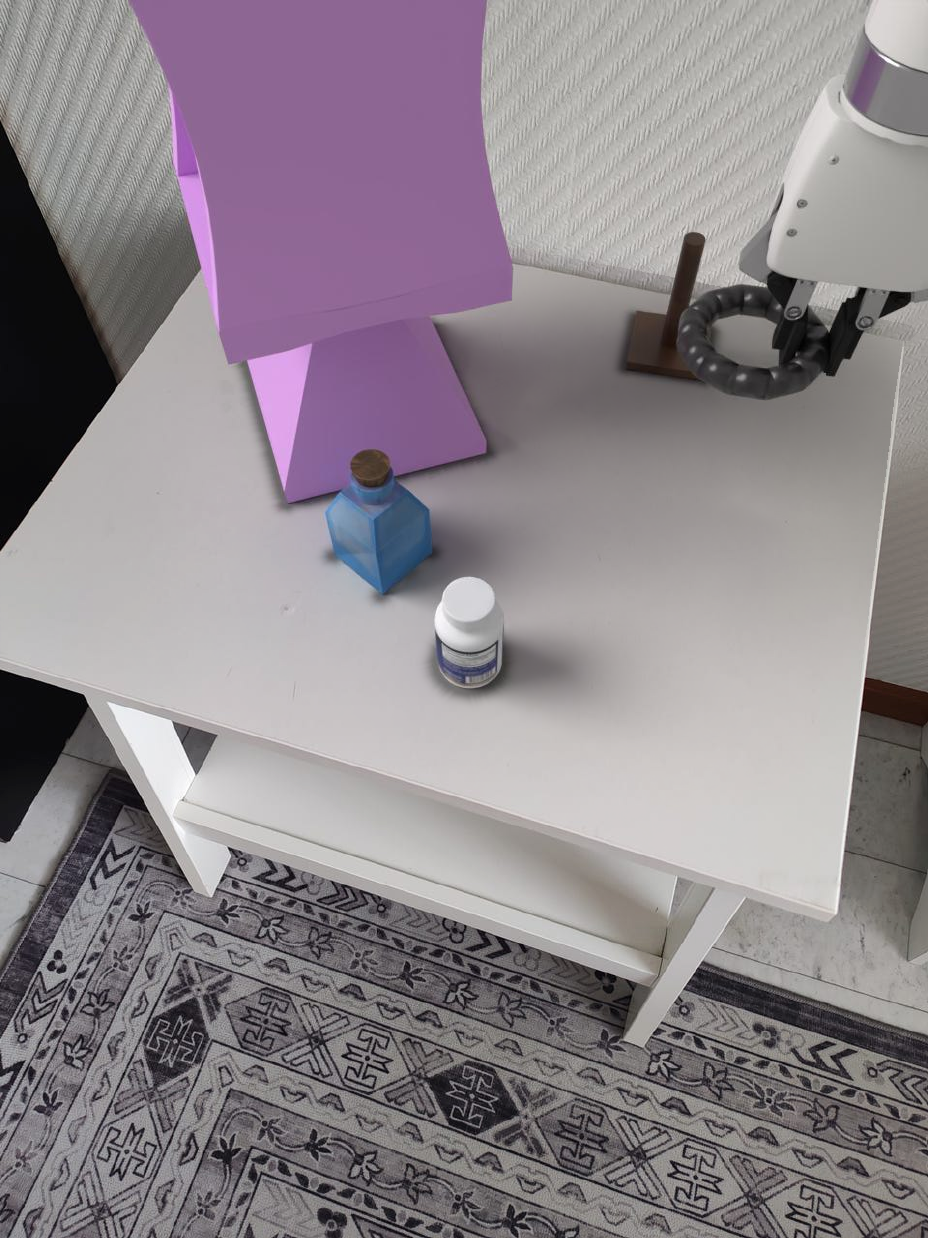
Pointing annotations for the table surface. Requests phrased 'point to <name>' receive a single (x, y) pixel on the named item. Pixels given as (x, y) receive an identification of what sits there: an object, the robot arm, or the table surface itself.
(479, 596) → the pill bottle
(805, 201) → the robot arm
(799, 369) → the ring
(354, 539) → the perfume bottle
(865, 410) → the table surface
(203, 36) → the purple table lamp
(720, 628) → the table surface
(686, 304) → the stand
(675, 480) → the table surface
